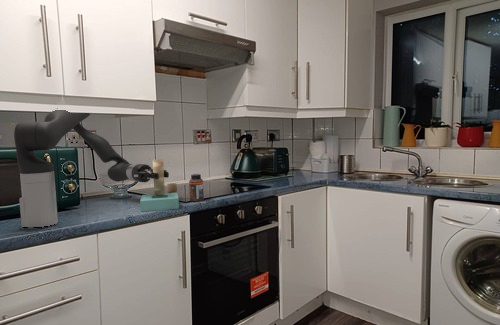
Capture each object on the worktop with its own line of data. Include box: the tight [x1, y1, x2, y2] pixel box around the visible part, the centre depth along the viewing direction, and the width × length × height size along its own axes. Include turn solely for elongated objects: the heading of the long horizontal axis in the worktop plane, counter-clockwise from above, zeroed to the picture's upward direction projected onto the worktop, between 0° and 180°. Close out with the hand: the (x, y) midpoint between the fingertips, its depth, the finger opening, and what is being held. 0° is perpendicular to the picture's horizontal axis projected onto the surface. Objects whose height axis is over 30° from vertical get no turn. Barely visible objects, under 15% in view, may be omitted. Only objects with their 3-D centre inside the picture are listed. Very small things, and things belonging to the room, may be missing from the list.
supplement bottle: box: [188, 173, 205, 203], centre depth 142 cm, size 6×6×11 cm
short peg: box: [166, 182, 178, 193], centre depth 146 cm, size 4×4×7 cm
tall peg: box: [152, 159, 166, 196], centre depth 132 cm, size 4×4×14 cm
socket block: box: [139, 192, 180, 212], centre depth 132 cm, size 14×14×4 cm
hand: (162, 175), depth 130 cm, fingers closed on tall peg, 4 cm apart
